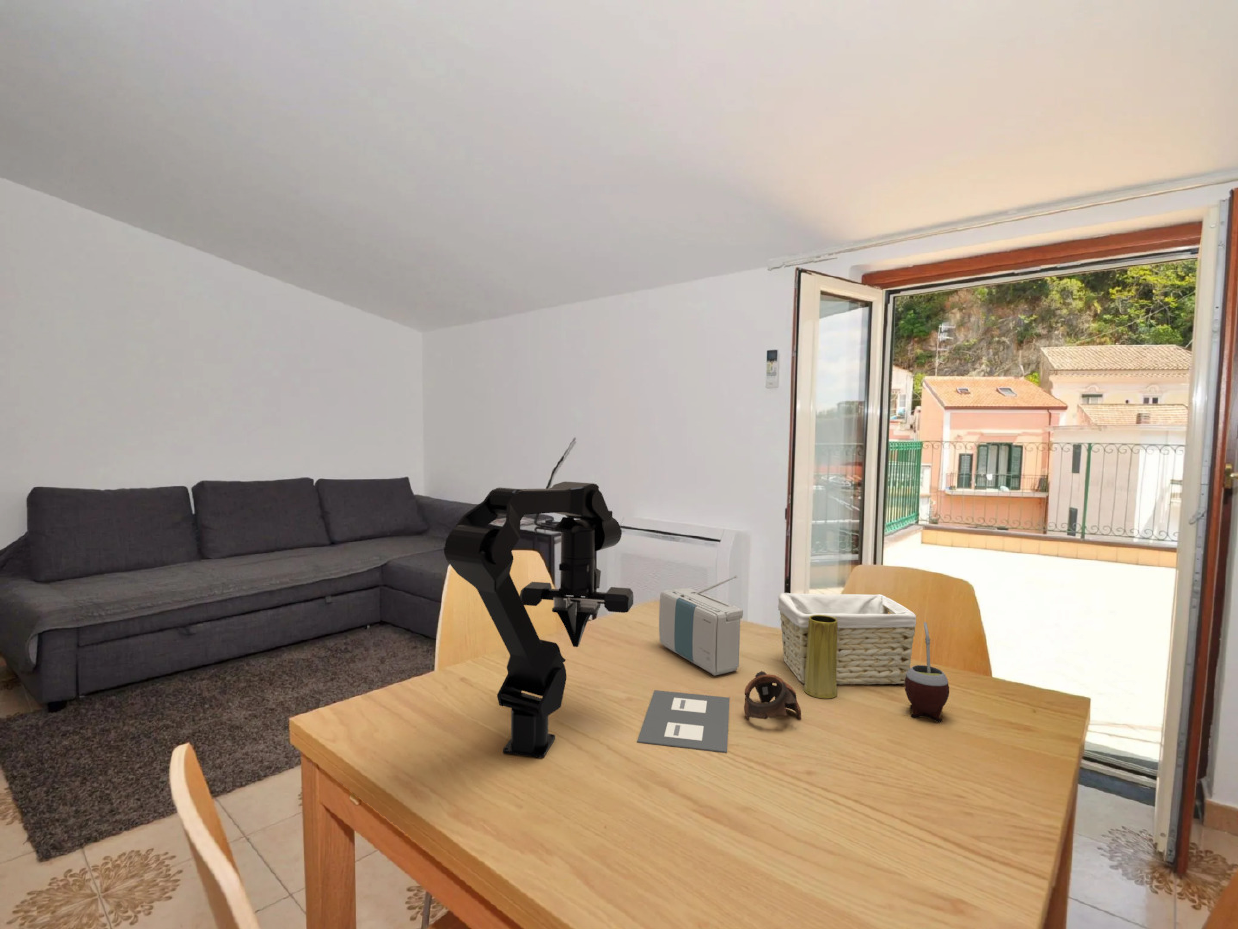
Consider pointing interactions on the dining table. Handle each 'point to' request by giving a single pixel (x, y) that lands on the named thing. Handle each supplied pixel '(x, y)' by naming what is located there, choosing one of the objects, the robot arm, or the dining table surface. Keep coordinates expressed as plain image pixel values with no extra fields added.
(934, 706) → the mate gourd
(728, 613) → the stereo radio cassette player
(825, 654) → the vase
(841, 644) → the storage basket
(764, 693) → the brown curved piece
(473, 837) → the dining table surface
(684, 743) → the label mat
